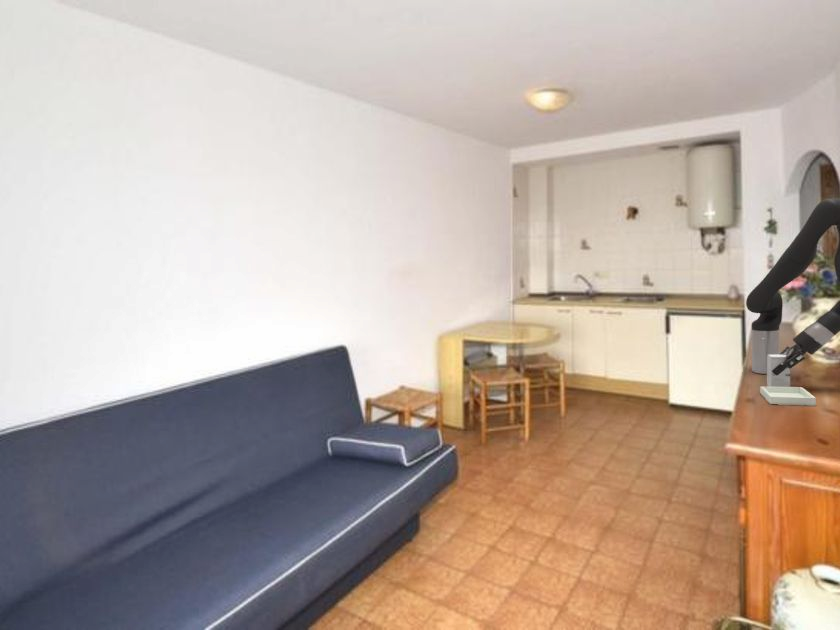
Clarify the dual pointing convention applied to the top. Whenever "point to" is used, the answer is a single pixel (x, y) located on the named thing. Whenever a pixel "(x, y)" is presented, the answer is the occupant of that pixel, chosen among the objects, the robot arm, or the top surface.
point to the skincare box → (780, 379)
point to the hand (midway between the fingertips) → (772, 371)
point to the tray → (787, 396)
